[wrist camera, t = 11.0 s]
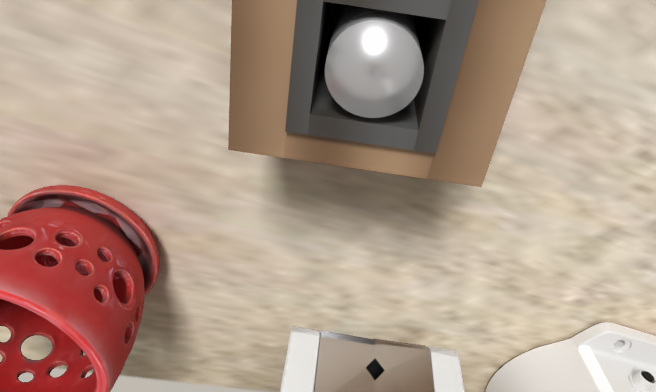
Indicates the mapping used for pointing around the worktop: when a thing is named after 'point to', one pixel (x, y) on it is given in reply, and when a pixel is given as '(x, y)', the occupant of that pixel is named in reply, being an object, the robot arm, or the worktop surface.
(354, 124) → the socket block
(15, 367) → the plant pot
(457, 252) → the worktop surface
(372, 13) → the peg
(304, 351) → the robot arm
